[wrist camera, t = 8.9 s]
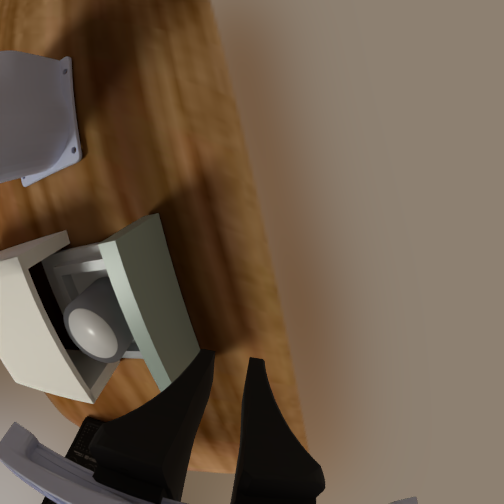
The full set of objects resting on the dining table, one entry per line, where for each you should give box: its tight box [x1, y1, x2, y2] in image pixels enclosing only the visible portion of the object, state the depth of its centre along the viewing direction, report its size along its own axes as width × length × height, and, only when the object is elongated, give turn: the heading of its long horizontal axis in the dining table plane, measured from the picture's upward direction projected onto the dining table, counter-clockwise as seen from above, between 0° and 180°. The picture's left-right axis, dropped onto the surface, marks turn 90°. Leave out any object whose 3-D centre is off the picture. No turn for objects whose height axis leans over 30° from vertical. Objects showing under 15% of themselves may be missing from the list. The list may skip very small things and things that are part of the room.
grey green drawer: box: [41, 213, 200, 392], centre depth 19 cm, size 13×13×6 cm
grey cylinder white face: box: [64, 277, 134, 363], centre depth 19 cm, size 6×6×4 cm
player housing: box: [0, 230, 120, 404], centre depth 21 cm, size 14×14×6 cm
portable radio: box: [42, 417, 104, 504], centre depth 20 cm, size 8×6×25 cm
